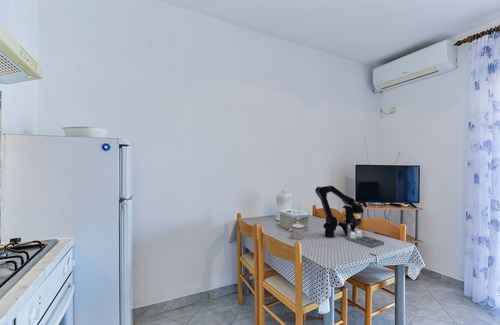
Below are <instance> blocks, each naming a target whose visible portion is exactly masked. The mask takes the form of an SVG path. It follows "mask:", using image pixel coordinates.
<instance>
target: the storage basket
mask: <svg viewBox="0 0 500 325" xmlns="http://www.w3.org/2000/svg"><path fill="white" fill-rule="evenodd" d="M278 213H279V222H280V227H281V228H282V229H285V230H287V231H289V230H290V229H292V225H294V224H296V223H297V222H299V224H301V225H303V226H304V232H307V231H308V230H309V229H308V228H309V218H310V213H308V212H306V211H302V210H299V209H296V208H288V209H287V208H286V209H280V210H279V212H278ZM290 232H292V230H291V231H290Z"/></svg>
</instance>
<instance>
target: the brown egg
mask: <svg viewBox="0 0 500 325" xmlns="http://www.w3.org/2000/svg"><path fill="white" fill-rule="evenodd" d="M351 232H353V231H352V230H351V228H348V230H347V235H346V236H350V233H351Z"/></svg>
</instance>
